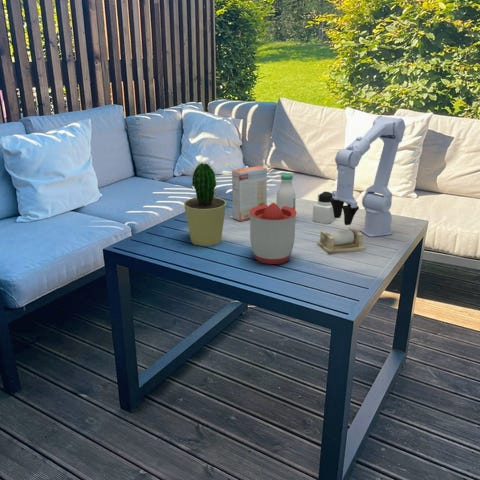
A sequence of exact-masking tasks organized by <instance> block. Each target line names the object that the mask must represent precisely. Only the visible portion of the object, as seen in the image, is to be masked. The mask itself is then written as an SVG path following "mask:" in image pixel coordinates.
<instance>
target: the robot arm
mask: <svg viewBox="0 0 480 480" xmlns="http://www.w3.org/2000/svg"><path fill="white" fill-rule="evenodd" d="M405 131H406V123H405V121H404V119H403V118H401V117H400V118H399V117H398V118H396V117H389V116H383V115H378V116H376V118H375V119H374V120H373V122H372V127H371V128H370V129H369V130H367V132H366V133H365V134H364V135H363V136H357V137H356V138H355V139H354V140H353V141H352V142H351V143H350V144H349V145H348V146H347V147H346V148H342V149H340V150H338V151H337V152H336V156H335V157H334V161H335V164H336V169H337V179H336V190H332V192H331V193H332V196H333V198H330V202H331V204H332V207H333V212H334V217H335V219H340V218H341V217H342V213H343V215H344V216H343V220H344V225H345V226H351V224H352V222H353V220H354V217H355V215H356V213H357V211H358V210H359V209H360V207H359V205H358V201H356V199H355V197H354V189H355V188H354V187H355V176H356V167H358V166H359V163H360V161H361V159H362V157H363V156H364V155H365V154H366V153H367V152H368V151H369V150H370V149H371V144H372V143H373V142H375V141H376V140H377V139H378V138H379V139H380V140H381V141H382V142H383V147H382V150H381V154H380V158H379V162H378V165H377V171H376V173H375V177H374V182H373V184H372V185H370V186H369V187H367V188H366V191H365V193H364V195H363V197H362V198H361V203H362V204H361V205H362V206H363V207H364V211H365V216H364V217H365V219H364V228H360V229H359V232H361V233H362V234H365V235H366V236H368V237H369V238H373V237H381V236H389V235H392V232H391V228H392V219H393V218H392V213H391V212H390V209H391V207H392V201H393V200H392V199H393V193H392V191H391V190H390V189H389V188H388V185H389V182H390V178H391V175H392V174H391V173H392V171H393V168H394V163H395V160H396V157H397V156H396V155H397V152H398V149H399V145H400V143H401V142H403V138H404V135H405V134H404V133H405ZM345 204H347V205H345Z"/></svg>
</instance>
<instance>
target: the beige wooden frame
mask: <svg viewBox="0 0 480 480" xmlns="http://www.w3.org/2000/svg"><path fill="white" fill-rule="evenodd" d="M348 230H351V231H352V232H353V234H354V242H353V243H352V244H346V245H338V246H334V238H333V237H332V236H331V235H329V232H327V231H326V230H321V231H320V236H319V238H320V239H319V240H318V241H317V242H316V245H318V246H319V247H320V248H321V249H322V250H323V251H324V252H326V253H327V254H328V255H335V254H336V255H337V254H343V253H345V254H346V253H351V252H359V251H365V250H366V247H365V246H364V245H363V242H364V233H362V232H361V231H358V230H357V229H355V228H354V227H353V226H352V227H348Z"/></svg>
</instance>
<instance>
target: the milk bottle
mask: <svg viewBox="0 0 480 480" xmlns="http://www.w3.org/2000/svg"><path fill="white" fill-rule="evenodd" d="M293 179H294V176H293V174H291V173H282V174H281V175H280V181H281V183H280V185H279V187H278V190H277V192H276V202H275V204H276V205H277V206H278V207H279V208H280V209H281V208H282V207H283V206H288V207H291V208H293V209H294V210H296V191H295V188H294V186H293Z"/></svg>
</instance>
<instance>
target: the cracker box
mask: <svg viewBox="0 0 480 480" xmlns="http://www.w3.org/2000/svg"><path fill="white" fill-rule="evenodd" d="M231 181H232V183H231V185H232V188H231V189H232V191H231V192H232V218H233V219H234V220H236V221H238V222H245V221H250V210H251V209H252V208H254V207H257V206H261V205H267V206H268V203H267V201H268V193H267V192H268V188H267V187H268V168H267V167H265V166H262V165H256V166H250V167H249V166H248V167H245V168H239V169H233V170H231Z"/></svg>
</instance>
